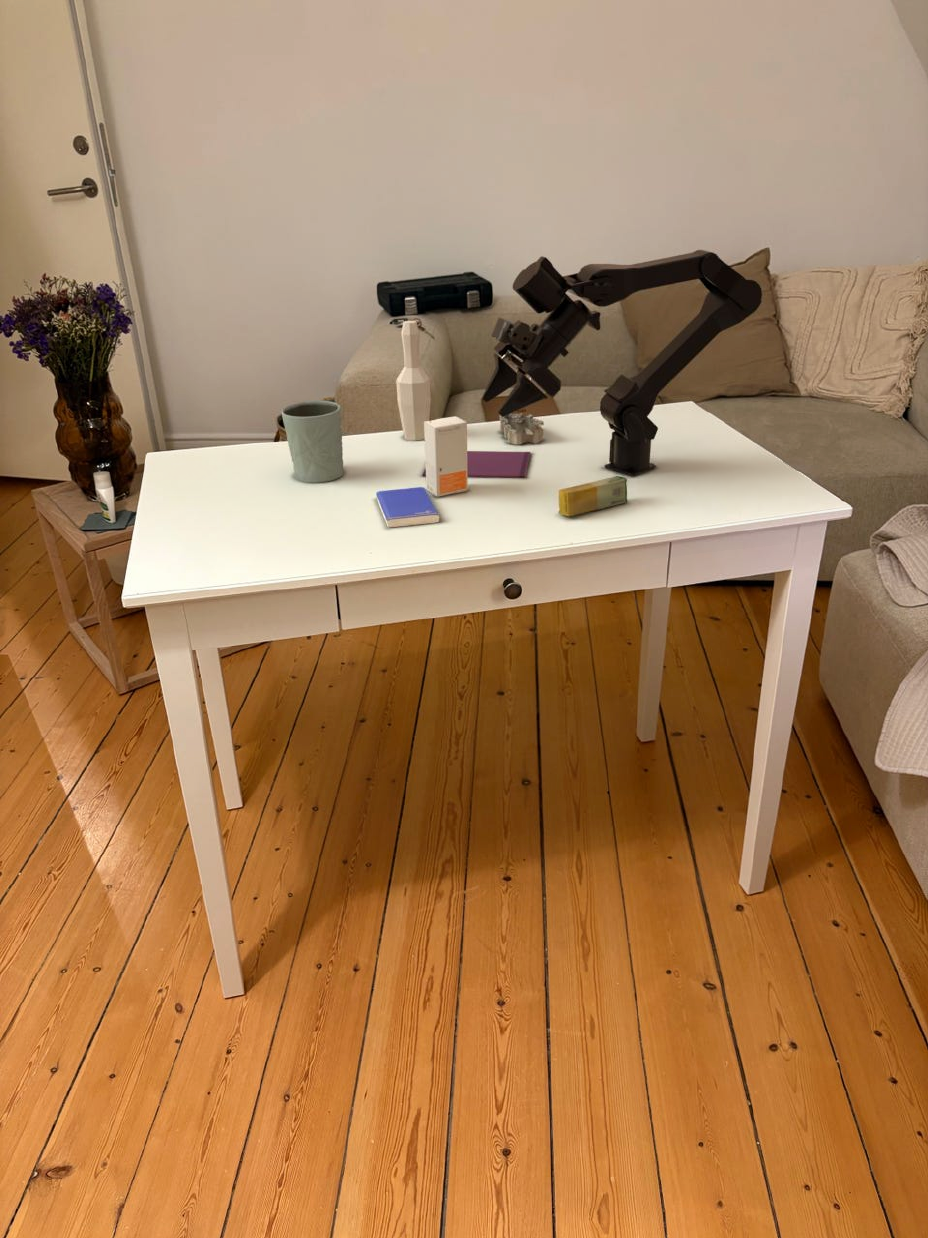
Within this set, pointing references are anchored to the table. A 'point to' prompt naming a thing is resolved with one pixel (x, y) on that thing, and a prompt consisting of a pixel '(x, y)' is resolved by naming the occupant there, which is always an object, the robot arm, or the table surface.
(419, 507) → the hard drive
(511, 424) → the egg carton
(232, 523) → the table surface
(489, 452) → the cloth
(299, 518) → the table surface
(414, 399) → the faceted bottle
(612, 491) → the medication box
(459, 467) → the cosmetic box
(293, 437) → the green plant pot
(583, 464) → the table surface
